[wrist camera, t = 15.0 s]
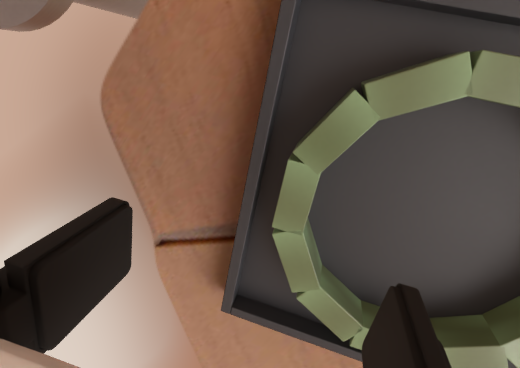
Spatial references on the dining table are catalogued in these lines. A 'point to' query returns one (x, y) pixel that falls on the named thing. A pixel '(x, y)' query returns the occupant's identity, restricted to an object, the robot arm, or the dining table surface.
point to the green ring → (339, 140)
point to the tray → (385, 167)
